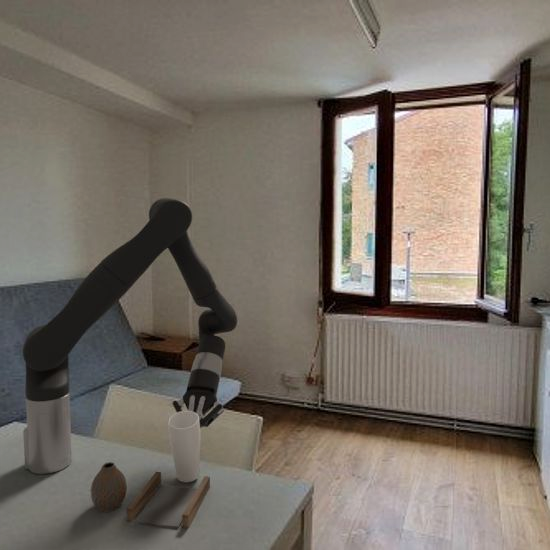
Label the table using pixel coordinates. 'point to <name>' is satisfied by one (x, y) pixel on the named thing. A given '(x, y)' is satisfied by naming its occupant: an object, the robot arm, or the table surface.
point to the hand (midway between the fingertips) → (190, 442)
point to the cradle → (167, 503)
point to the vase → (108, 488)
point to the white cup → (185, 444)
